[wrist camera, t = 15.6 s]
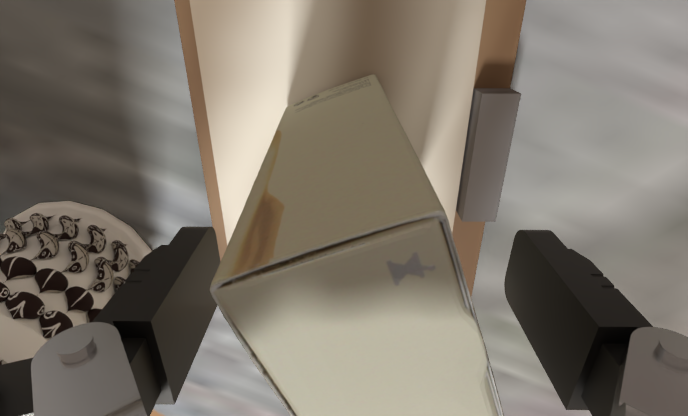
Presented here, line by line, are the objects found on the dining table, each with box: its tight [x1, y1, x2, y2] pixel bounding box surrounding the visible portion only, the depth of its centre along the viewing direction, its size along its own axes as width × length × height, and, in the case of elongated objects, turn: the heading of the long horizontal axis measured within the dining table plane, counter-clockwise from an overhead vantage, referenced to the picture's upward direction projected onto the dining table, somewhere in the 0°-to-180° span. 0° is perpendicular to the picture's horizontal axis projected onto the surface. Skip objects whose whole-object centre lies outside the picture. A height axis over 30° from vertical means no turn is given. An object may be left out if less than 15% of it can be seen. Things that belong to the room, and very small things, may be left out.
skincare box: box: [210, 74, 504, 416], centre depth 13 cm, size 6×4×12 cm
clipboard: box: [174, 0, 526, 296], centre depth 19 cm, size 14×20×2 cm
